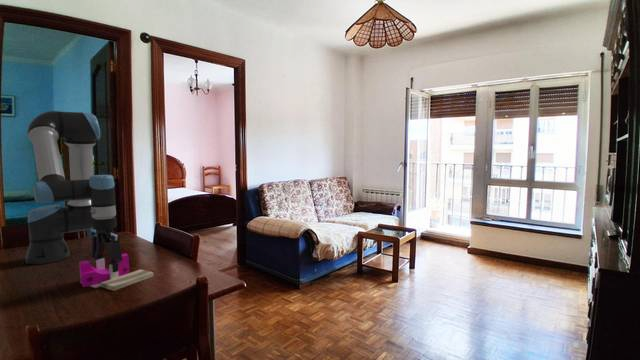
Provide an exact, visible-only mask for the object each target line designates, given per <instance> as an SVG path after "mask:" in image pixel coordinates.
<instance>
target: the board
mask: <svg viewBox="0 0 640 360" xmlns="http://www.w3.org/2000/svg"><path fill="white" fill-rule="evenodd" d="M153 277H154V272H153V271H149V270H144V269H137V270H135V271H132V272H131V271H130V272H129V273H128V274H125V275H122V276H119V277H116V278H113V279H110V280H107V281H104V282H101V286H100V288H103V289H107V290H110V291H119V290H120V289H123V288H126V287H128V286H131V285H133V284H136V283H140V282H141V281H144V280H147V279H150V278H153Z"/></svg>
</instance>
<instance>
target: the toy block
mask: <svg viewBox="0 0 640 360" xmlns="http://www.w3.org/2000/svg"><path fill="white" fill-rule="evenodd" d="M121 255H122V261H120V262H118V272H119V276H122V275H125V274H128V273H130V263H129V262H130V258H129V254H128V253H127V252H125V253H121ZM78 263H79V264H78V265H79V279H80V281H79V282H81V283H80V284H81V285H82V287H83V288H86V287H91V285H96V284H100V283H101V282H104V281H107V280H110V269H109V267H108V268H105V269H103V270H100V269H96V268H95V267H93V266H92V265H91V263H90V261H89V260H83V261H79V262H78Z"/></svg>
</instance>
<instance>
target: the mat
mask: <svg viewBox="0 0 640 360" xmlns="http://www.w3.org/2000/svg"><path fill="white" fill-rule="evenodd" d="M79 284H81V281H79ZM90 287H91V288H94V289H98V288H101V283H100V284H96V285H91V286H90Z"/></svg>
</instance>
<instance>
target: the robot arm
mask: <svg viewBox="0 0 640 360" xmlns="http://www.w3.org/2000/svg"><path fill="white" fill-rule="evenodd" d="M27 138H28V140H29V141H30V142H31V143H32V147H33V152H34V153H33V154H34V158H35V164H36V169H37V171H36V172H37V177H38V181H36V182H33V197H34V201H35V202H36V203H37V204H50V205H44V206H38V207H36V208H32V209H31V210H29V211H28V212H27V221H26V222H27V223H28V237H29V238H28V239H29V246H28V249H27V252H26V254H25V263H26V264H28V265H43V264H51V263H55V262H59V261H62V260H65V259H68V258H69V257H70V256H71V254H70V249H69V247H68V245H67V243H66V240H65V239H64V234H68V233H69V234H70V233H75V232H76V233H77V232H82V231H90V230H95V231H91V232H90V234H91V235H90V236H91V258H94V260H95V267H96V269H100V270H103V269H106V261H105V260H106V259H105V255H104V253H105V249H106V250H107V251H106V252H107V255H108V259H109V262H108V265H109V267H108V268H109V269H110V279H113V278H116V277H119V272H118V262H120V261H122V255H121V254H122V248H121V242H120V239H121V236H120V234H118V233H117V234H115V231H114V229H115V228H116V227H118V226H117V224H118V223H117V217H116V216H117V209H116V206H117V205H116V196H115V195H116V191H115V187H116V186H115V185H116V183H115V179H114V176H113V174H96V175H94V160H93V159H94V158H93V147H94V146H95V145H97V141H99V140H100V139H101V128H100V124H99V121H98V119H97V116H96V115H94V113H89V112H83V111H82V112H80V111H79V112H78V111H59V110H58V111H57V110H49V111H45V112H42V113H39V114H38V115H37V116H35V117H33V119H32V120H31V122H30V123H29V125H28V127H27ZM58 140H64V141H63V142H64V144H65V145H66V146H67V147H68V152H69V153H68V156H69V157H68V158H69V159H68V160H69V176H70V180H66V176H65V172H64V171H65V170H64V167H63V163H62V162H63V161H62V159H61V154H60V153H61V152H60V150H59V145H58ZM59 202H60V203H61V202H62V203H63V202H67V206H64V207H62V205H61V204H58V203H59ZM52 203H57V204H52Z"/></svg>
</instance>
